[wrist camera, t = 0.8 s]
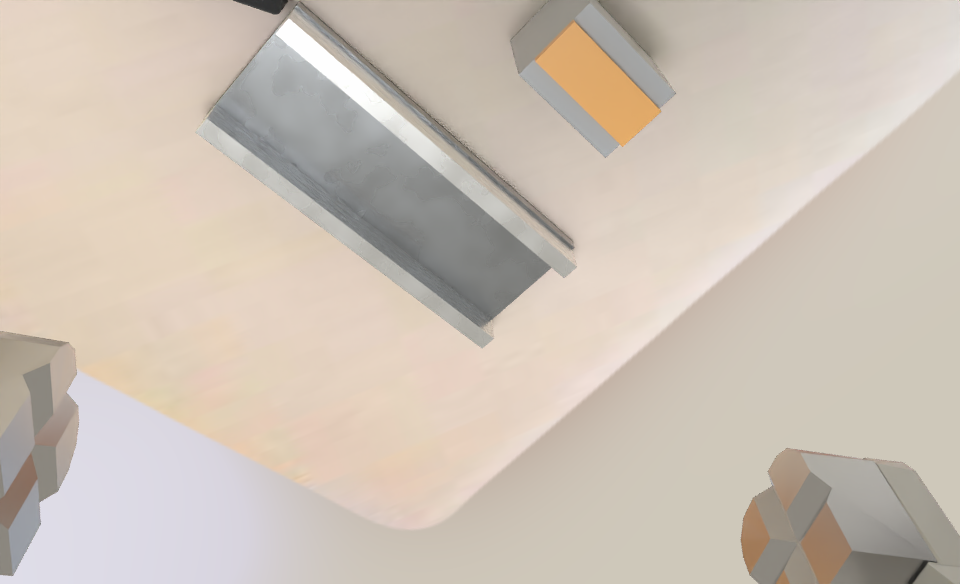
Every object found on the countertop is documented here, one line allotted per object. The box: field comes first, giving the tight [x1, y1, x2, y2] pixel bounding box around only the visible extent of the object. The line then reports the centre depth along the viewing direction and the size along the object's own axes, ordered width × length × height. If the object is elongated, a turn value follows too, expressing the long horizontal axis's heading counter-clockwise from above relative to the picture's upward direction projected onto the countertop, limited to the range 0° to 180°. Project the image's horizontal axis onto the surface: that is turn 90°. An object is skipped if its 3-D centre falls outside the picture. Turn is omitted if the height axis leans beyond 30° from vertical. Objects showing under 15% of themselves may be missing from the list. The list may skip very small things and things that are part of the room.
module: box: [510, 0, 676, 158], centre depth 41 cm, size 4×6×6 cm
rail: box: [195, 2, 577, 348], centre depth 45 cm, size 8×20×3 cm, turn 46°
